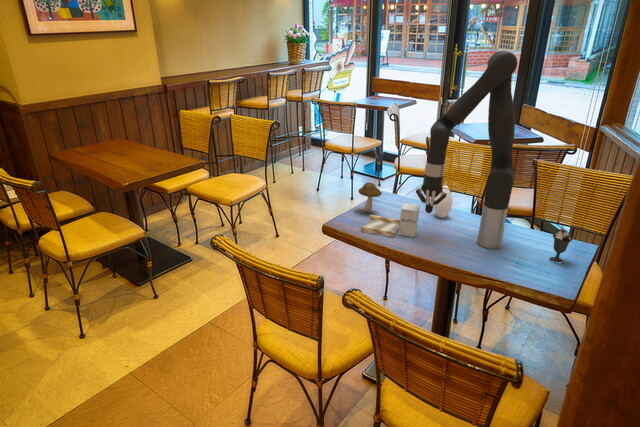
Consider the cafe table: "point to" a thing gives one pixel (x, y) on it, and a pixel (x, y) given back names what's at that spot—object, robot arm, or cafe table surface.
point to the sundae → (560, 244)
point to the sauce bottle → (444, 203)
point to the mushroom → (369, 194)
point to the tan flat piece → (381, 226)
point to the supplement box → (409, 219)
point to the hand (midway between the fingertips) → (428, 212)
